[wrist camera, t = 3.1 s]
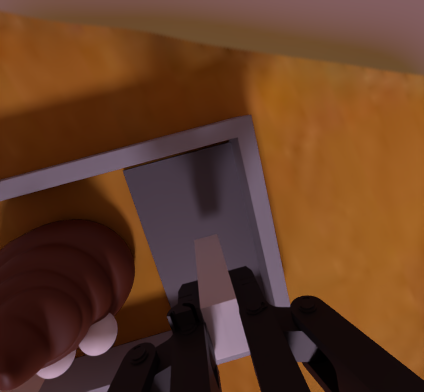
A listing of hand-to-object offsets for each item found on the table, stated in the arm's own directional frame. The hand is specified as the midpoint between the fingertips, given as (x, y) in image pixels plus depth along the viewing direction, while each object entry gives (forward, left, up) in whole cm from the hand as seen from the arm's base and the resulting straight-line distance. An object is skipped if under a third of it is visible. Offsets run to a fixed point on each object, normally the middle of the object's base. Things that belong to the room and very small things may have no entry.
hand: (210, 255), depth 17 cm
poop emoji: (-10, +4, -4) cm, 11 cm away
